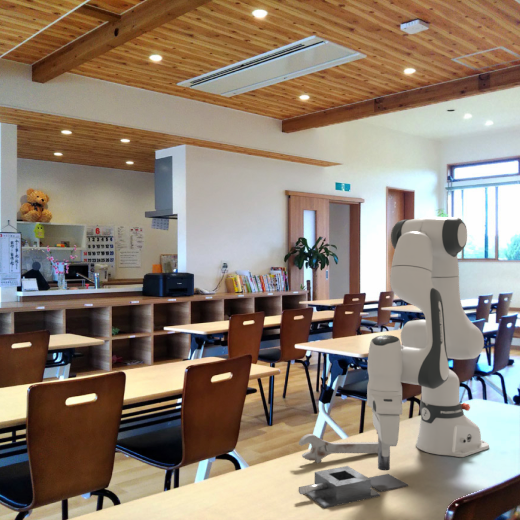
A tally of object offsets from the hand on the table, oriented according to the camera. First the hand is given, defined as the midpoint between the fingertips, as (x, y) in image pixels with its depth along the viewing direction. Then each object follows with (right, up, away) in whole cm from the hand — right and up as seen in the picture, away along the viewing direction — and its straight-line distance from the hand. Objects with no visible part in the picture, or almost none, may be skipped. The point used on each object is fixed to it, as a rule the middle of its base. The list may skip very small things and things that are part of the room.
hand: (383, 452), depth 149 cm
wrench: (-7, -8, +19) cm, 22 cm away
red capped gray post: (0, -4, 0) cm, 4 cm away
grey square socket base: (-14, -8, -6) cm, 17 cm away
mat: (0, -8, 0) cm, 8 cm away
